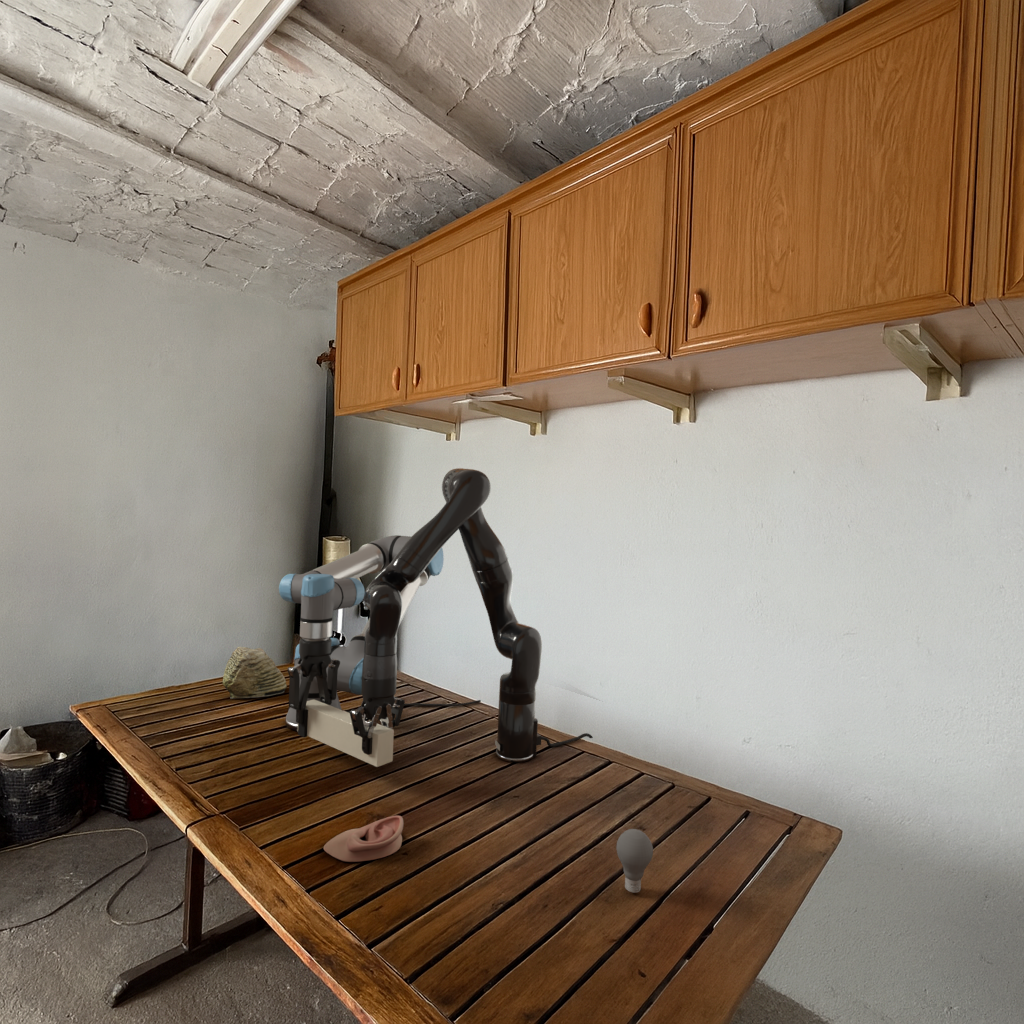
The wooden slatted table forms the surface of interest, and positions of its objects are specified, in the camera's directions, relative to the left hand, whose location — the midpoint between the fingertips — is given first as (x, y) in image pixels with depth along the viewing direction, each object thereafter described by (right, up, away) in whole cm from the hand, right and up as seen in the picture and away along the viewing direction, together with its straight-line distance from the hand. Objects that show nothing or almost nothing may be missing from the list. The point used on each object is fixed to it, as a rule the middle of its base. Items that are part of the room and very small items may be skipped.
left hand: (311, 732), depth 155 cm
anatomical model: (+22, -7, -39) cm, 45 cm away
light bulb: (+69, -9, -49) cm, 85 cm away
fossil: (-32, -3, +43) cm, 54 cm away
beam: (+10, 0, -8) cm, 12 cm away
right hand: (+19, +2, -15) cm, 24 cm away
